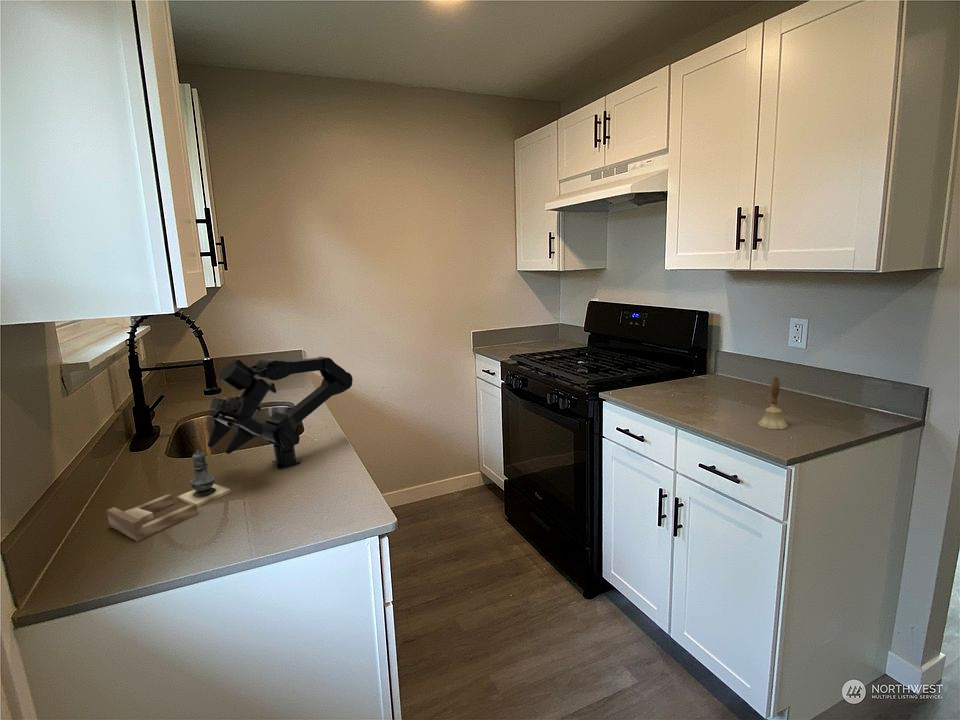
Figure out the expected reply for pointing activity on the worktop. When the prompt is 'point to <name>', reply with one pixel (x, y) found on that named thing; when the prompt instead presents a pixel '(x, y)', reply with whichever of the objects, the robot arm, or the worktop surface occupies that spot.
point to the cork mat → (200, 501)
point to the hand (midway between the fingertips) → (217, 450)
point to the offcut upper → (142, 515)
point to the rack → (138, 531)
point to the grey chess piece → (201, 476)
